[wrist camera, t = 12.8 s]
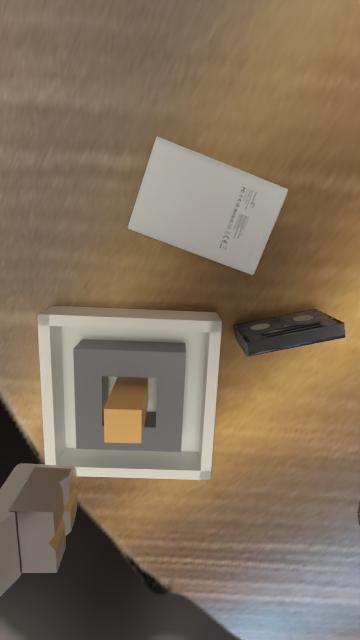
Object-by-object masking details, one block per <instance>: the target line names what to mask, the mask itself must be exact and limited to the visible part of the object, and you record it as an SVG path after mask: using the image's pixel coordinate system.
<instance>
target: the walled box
mask: <svg viewBox="0 0 360 640" xmlns="http://www.w3.org/2000/svg"><path fill="white" fill-rule="evenodd" d="M37 319H38V337H39V356H40V375H41V393H42V412H43V431H44V449H45V465H60V466H74V467H75V468H76V475H77V476H91V477H125V478H159V479H194V480H210V476H211V463H212V449H213V436H214V423H215V409H216V396H217V383H218V370H219V356H220V343H221V330H222V321H221V319H220V317H219V315H218V314H217V312H199V311H174V310H150V309H126V308H101V307H77V306H52V307H50V308H48V309H46V310H44V311H42V312H40V313H39V314H37ZM117 377H139V378H148V407H147V412H146V418H145V424H144V430H143V436H142V442H141V443H104V407H105V405H106V403H107V400H108V398H109V396H110V393H111V391H112V389H113V386H114V384H115V382H116V379H117Z"/></svg>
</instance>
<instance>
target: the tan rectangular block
mask: <svg viewBox="0 0 360 640" xmlns="http://www.w3.org/2000/svg"><path fill="white" fill-rule="evenodd" d="M147 407H148V378H139V377H117V379H116V382H115V384H114V386H113V389H112V391H111V393H110V396H109V398H108V400H107V403H106V405H105V407H104V443H141V442H142V436H143V430H144V424H145V418H146V412H147Z"/></svg>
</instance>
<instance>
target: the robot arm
mask: <svg viewBox="0 0 360 640" xmlns="http://www.w3.org/2000/svg"><path fill="white" fill-rule="evenodd" d="M76 479H77V475H76V468H75V467H74V466H60V465H44V464H38V465H36V464H19V465H17V466H16V467H15V468H14V470H13V471H12V473H11V474H10V476H9V477H8V479H7V480H6V482H5V483H4V485H3V486H2V488H1V489H0V596H1V595H2V594H3V593H4V592H5V591H6V590H7V589H8V588H9V587H10V586H11V585H12V584H13V583H14V582H15V581H16V580H17V579H18V578H19V576H21V573H56V572H57V570H58V568H59V565H60V562H61V558H62V556H63V553H64V550H65V547H66V545H65V536H66V535H67V534H68V533H69V532H71V530H72V526H73V523H74V520H75V515H76V509H77V491H76V490H75V489H74V488H73V487H74V485H75V482H76ZM357 513H358V521H359V525H360V502H359V506H358V511H357Z"/></svg>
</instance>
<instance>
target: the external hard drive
mask: <svg viewBox="0 0 360 640" xmlns="http://www.w3.org/2000/svg"><path fill="white" fill-rule="evenodd" d="M287 192H288V189H286V188H284V187H281V186H279V185H276V184H274V183H271V182H269V181H267V180H264V179H262V178H259V177H257V176H254V175H252V174H250V173H247V172H245V171H242V170H240V169H237V168H235V167H232V166H230V165H227V164H225V163H222V162H220V161H218V160H215V159H212V158H210V157H208V156H205V155H203V154H200V153H198V152H195V151H193V150H190V149H188V148H185V147H183V146H180V145H178V144H175V143H173V142H170V141H168V140H166V139H163V138H160V137H158V136H157V137H156V139H155V142H154V146H153V149H152V152H151V155H150V158H149V161H148V164H147V168H146V171H145V174H144V177H143V180H142V183H141V186H140V190H139V192H138V196H137V199H136V202H135V205H134V208H133V211H132V214H131V218H130V221H129V224H128V227H127V228H128V229H129V230H132V231H135V232H138V233H140V234H143V235H146V236H148V237H151V238H154V239H156V240H159V241H162V242H164V243H167V244H170V245H172V246H175V247H178V248H180V249H183V250H186V251H189V252H191V253H194V254H197V255H199V256H202V257H205V258H207V259H210V260H213V261H215V262H218V263H221V264H223V265H226V266H229V267H232V268H234V269H237V270H240V271H242V272H245V273H248V274H250V275H253V274H254V273H255V271H256V268H257V266H258V263H259V261H260V258H261V256H262V253H263V251H264V248H265V246H266V243H267V241H268V239H269V236H270V234H271V231H272V229H273V227H274V224H275V222H276V219H277V217H278V214H279V212H280V210H281V207H282V205H283V202H284V200H285V198H286V195H287Z"/></svg>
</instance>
